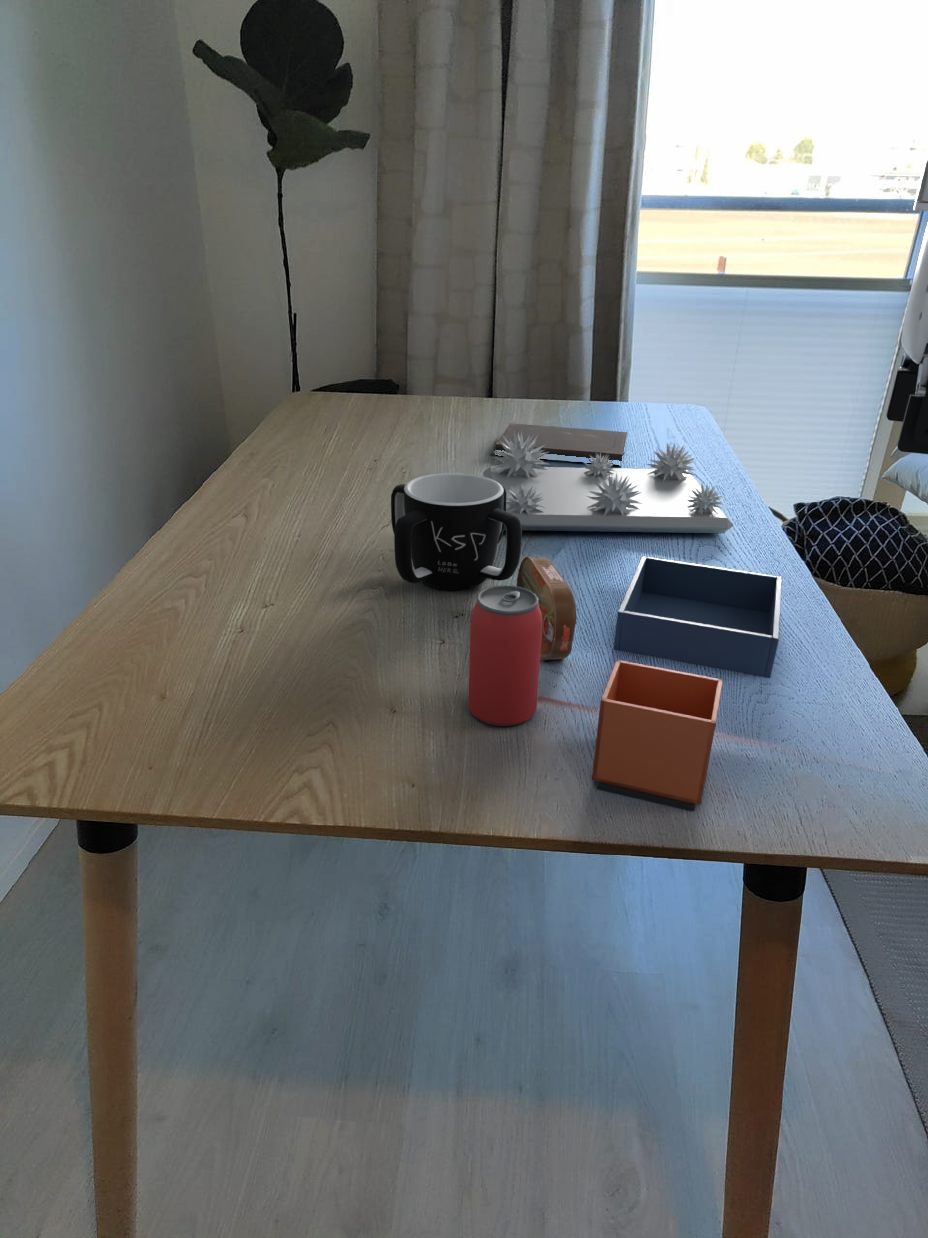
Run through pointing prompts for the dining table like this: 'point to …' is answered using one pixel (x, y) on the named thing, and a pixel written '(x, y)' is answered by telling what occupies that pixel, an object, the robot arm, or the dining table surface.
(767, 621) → the box
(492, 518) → the mug
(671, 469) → the decorative tray
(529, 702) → the beer can
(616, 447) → the hardcover book
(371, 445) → the dining table surface
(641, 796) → the mat
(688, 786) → the small bin
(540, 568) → the tin
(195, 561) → the dining table surface
